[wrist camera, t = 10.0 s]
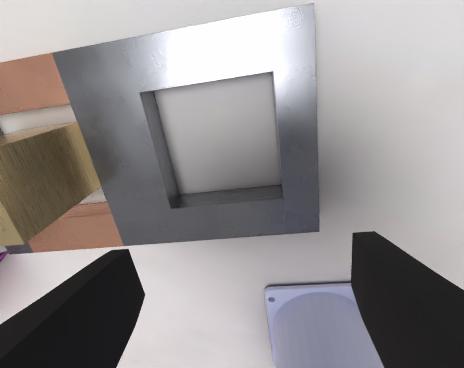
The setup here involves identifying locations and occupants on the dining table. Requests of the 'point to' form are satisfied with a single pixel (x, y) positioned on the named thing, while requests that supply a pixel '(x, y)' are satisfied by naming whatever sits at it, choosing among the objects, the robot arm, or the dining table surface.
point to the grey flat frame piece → (152, 136)
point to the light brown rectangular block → (41, 179)
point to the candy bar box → (2, 251)
